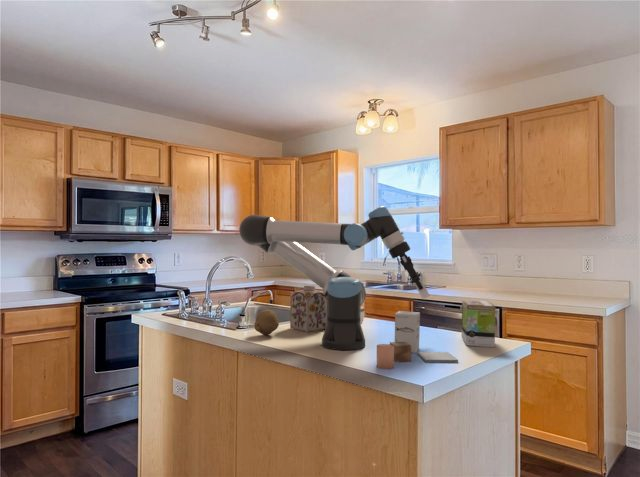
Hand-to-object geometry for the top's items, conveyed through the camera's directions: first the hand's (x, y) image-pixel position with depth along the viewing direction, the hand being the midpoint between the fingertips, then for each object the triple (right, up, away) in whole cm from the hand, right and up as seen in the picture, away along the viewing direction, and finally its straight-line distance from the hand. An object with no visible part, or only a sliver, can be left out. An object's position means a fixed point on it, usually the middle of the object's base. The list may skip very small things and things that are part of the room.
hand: (425, 295), depth 163 cm
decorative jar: (-43, -17, +23) cm, 52 cm away
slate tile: (-2, -17, -24) cm, 29 cm away
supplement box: (-9, -17, -13) cm, 23 cm away
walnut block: (-14, -16, -26) cm, 34 cm away
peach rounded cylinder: (-20, -16, -34) cm, 43 cm away
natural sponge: (-59, -17, +8) cm, 62 cm away
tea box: (+19, -18, +1) cm, 26 cm away
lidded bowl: (-26, -17, +24) cm, 40 cm away
